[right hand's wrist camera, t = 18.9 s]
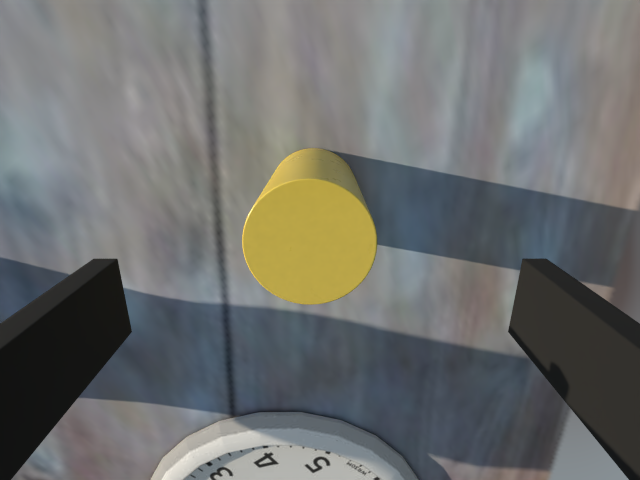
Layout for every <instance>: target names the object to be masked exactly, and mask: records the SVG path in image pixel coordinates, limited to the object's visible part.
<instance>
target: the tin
mask: <svg viewBox="0 0 640 480" xmlns="http://www.w3.org/2000/svg"><path fill="white" fill-rule="evenodd" d="M242 244H243V252H244V256H245V260H246V263H247V265H248V267H249V269H250V271H251V272H252V274H253V275H254V277H255V278H256V279H257V281H258V282H259V283H260V284H261V285H262V286H263V287H264V288H265V289H267V290H268V291H270V292H271V293H272V294H274V295H276V296H278V297H279V298H282V299H284V300H287V301H290V302H294V303H299V304H311V305H312V304H322V303H327V302H331V301H334V300H337V299H339V298H341V297H343V296H345V295H347V294H348V293H350V292H351V291H352V290H354V289H355V288H356V287H357V286H358V285H359V284H360V283H361V282H362V281H363V280H364V279H365V277H366V276H367V275H368V273H369V271H370V269H371V267H372V265H373V262H374V260H375V256H376V251H377V233H376V228H375V224H374V221H373V219H372V216H371V214H370V212H369V209H368V207H367V205H366V202H365V200H364V198H363V195H362V193H361V191H360V188H359V186H358V184H357V181H356V179H355V177H354V174H353V172H352V170H351V169H350V167H349V166H348V164H347V163H346V162H345V161H344V160H343V159H342V158H340V157H339V156H338V155H336V154H334V153H332V152H330V151H327V150H324V149H319V148H309V149H303V150H300V151H297V152H295V153H293V154H291V155H289V156H288V157H287V158H285V159H284V160H283V161H282V162H281V163H280V165H279V166H278V167H277V169H276V171H275V172H274V174H273V175H272V177H271V179H270V180H269V182H268V183H267V185H266V187H265V188H264V190H263V192H262V193H261V195H260V196H259V198H258V200H257V201H256V203H255V204H254V206H253V208H252V209H251V211H250V213H249V214H248V217H247V219H246V222H245V225H244V229H243V237H242Z"/></svg>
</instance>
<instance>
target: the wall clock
mask: <svg viewBox="0 0 640 480" xmlns="http://www.w3.org/2000/svg"><path fill="white" fill-rule="evenodd" d="M150 480H419V479H418V478H417V476H416V475H415V473H414V472H413V471H412V469H411V468H410V466H409V465H408V463H407V462H406V460H405V459H404V458H403V456H401V455H400V454H399V453H398V452H396V451H395V450H394V449H392V448H391V447H390V446H389V445H387V444H386V443H385V442H384V441H382V440H381V439H380V438H378V437H377V436H376V435H374V434H371V433H369V432H367V431H365V430H362V429H360V428H358V427H356V426H353V425H351V424H349V423H346V422H344V421H342V420H338V419H333V418H328V417H323V416H318V415H313V414H308V413H303V412H258V413H253V414H249V415H244V416H240V417H235V418H230V419H226V420H221V421H219V422H216V423H214V424H212V425H210V426H208V427H206V428H204V429H202V430H200V431H198V432H196V433H193V434H191V435H189V436H187V437H186V438H185V439H184V440H183V441H181V442H180V443H179V444H178V445H177V446H176V447H175V448H173V449H172V450H171V451H170V452H169V453H168V454H167V455H166V456H164V457H163V458H162V460H161V462H160V464H159V465H158V467H157V469H156V471H155V472H154V474H153V476H152V478H151V479H150Z"/></svg>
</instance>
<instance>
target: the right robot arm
mask: <svg viewBox="0 0 640 480" xmlns="http://www.w3.org/2000/svg"><path fill="white" fill-rule="evenodd" d="M131 332H132V331H131V326H130V321H129V315H128V310H127V305H126V300H125V295H124V290H123V285H122V280H121V275H120V270H119V265H118V260H117V259H93V260H91V261H90V262H88V263H87V264H85V265H84V266H83V267H81V268H80V269H78V270H77V271H75V272H74V273H73V274H71V275H70V276H68V277H67V278H65V279H64V280H62V281H61V282H60V283H58V284H57V285H55V286H54V287H52V288H51V289H50V290H48V291H47V292H45V293H44V294H42V295H41V296H39V297H38V298H37V299H35V300H34V301H32V302H31V303H29V304H28V305H27V306H25V307H24V308H22V309H21V310H19V311H18V312H16V313H15V314H14V315H12V316H11V317H9V318H8V319H6V320H5V321H4V322H2V323H1V324H0V480H11V479H12V478H13V476H14V475H15V474H16V473H17V472H18V470H19V469H20V468H21V467H22V465H23V464H24V463H25V462H26V461H27V459H28V458H29V457H30V456H31V454H32V453H33V452H34V451H35V450H36V448H37V447H38V446H39V445H40V443H41V442H42V441H43V440H44V439H45V437H46V436H47V435H48V434H49V432H50V431H51V430H52V429H53V428H54V426H55V425H56V424H57V423H58V421H59V420H60V419H61V418H62V417H63V415H64V414H65V413H66V412H67V410H68V409H69V408H70V407H71V405H72V404H73V403H74V402H75V401H76V399H77V398H78V397H79V396H80V394H81V393H82V392H83V391H84V390H85V388H86V387H87V386H88V385H89V383H90V382H91V381H92V380H93V379H94V377H95V376H96V375H97V374H98V372H99V371H100V370H101V369H102V368H103V366H104V365H105V364H106V363H107V361H108V360H109V359H110V358H111V357H112V355H113V354H114V353H115V352H116V350H117V349H118V348H119V347H120V346H121V344H122V343H123V342H124V341H125V339H126V338H127V337H128V336H129V335H130V333H131ZM508 332H509V333H510V335H511V336H512V337H513V338H514V339H515V341H516V342H517V343H518V344H519V346H520V347H521V348H522V349H523V350H524V352H525V353H526V354H527V355H528V357H529V358H530V359H531V360H532V361H533V363H534V364H535V365H536V366H537V368H538V369H539V370H540V371H541V372H542V374H543V375H544V376H545V377H546V379H547V380H548V381H549V382H550V383H551V385H552V386H553V387H554V388H555V390H556V391H557V392H558V393H559V394H560V396H561V397H562V398H563V399H564V401H565V402H566V403H567V404H568V405H569V407H570V408H571V409H572V410H573V412H574V413H575V414H576V415H577V416H578V418H579V419H580V420H581V421H582V423H583V424H584V425H585V426H586V428H587V429H588V430H589V431H590V432H591V434H592V435H593V436H594V437H595V439H596V440H597V441H598V442H599V443H600V445H601V446H602V447H603V448H604V450H605V451H606V452H607V453H608V454H609V456H610V457H611V458H612V459H613V461H614V462H615V463H616V464H617V465H618V467H619V468H620V469H621V470H622V471H623V473H624V474H625V475H626V476H627V478H628V479H629V480H640V324H639V323H638V322H636V321H635V320H633V319H632V318H631V317H629V316H628V315H626V314H625V313H624V312H622V311H621V310H619V309H618V308H616V307H615V306H613V305H612V304H611V303H609V302H608V301H606V300H605V299H603V298H602V297H601V296H599V295H598V294H596V293H595V292H593V291H592V290H590V289H589V288H588V287H586V286H585V285H583V284H582V283H580V282H579V281H578V280H576V279H575V278H573V277H572V276H570V275H569V274H567V273H566V272H565V271H563V270H562V269H560V268H559V267H557V266H556V265H555V264H553V263H552V262H550V261H549V260H547V259H523V260H522V265H521V270H520V275H519V280H518V285H517V290H516V295H515V300H514V305H513V310H512V315H511V321H510V326H509V331H508Z"/></svg>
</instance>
